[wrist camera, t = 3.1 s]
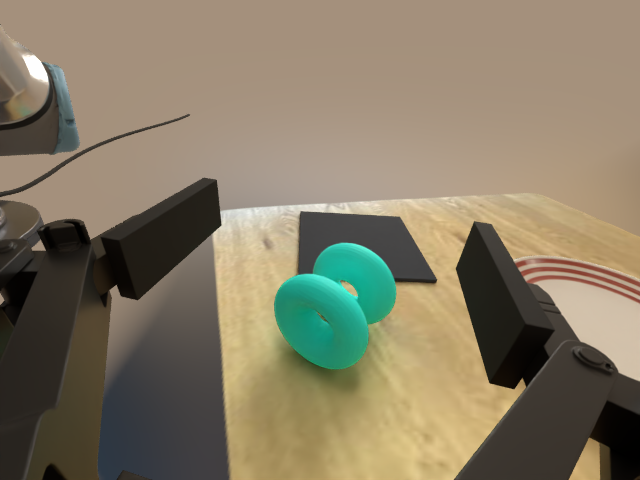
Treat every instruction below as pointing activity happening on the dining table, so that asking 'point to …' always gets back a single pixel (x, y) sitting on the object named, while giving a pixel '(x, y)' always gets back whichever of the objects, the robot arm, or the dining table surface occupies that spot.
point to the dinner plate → (593, 304)
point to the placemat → (363, 242)
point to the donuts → (335, 305)
